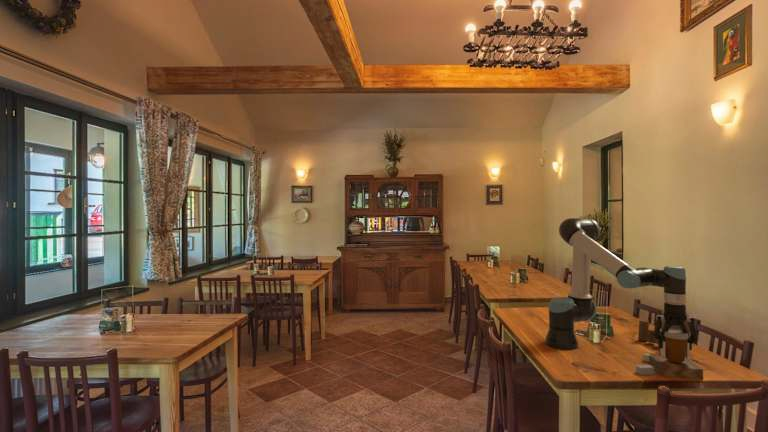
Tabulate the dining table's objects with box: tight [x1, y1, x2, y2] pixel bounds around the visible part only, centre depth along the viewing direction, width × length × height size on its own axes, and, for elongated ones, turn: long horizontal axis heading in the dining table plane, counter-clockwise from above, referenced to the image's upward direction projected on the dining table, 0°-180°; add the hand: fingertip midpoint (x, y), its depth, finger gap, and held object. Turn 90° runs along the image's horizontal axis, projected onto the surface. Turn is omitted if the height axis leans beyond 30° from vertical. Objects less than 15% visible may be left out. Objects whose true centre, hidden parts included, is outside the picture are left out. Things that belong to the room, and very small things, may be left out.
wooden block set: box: [637, 319, 661, 345], centre depth 207 cm, size 18×9×10 cm, turn 171°
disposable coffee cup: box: [664, 329, 689, 362], centre depth 168 cm, size 10×10×12 cm
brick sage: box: [642, 352, 652, 363], centre depth 179 cm, size 6×3×3 cm, turn 40°
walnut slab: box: [649, 354, 704, 380], centre depth 168 cm, size 14×14×4 cm
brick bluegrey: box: [635, 364, 655, 376], centre depth 166 cm, size 6×3×3 cm, turn 97°
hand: (674, 356), depth 168 cm, fingers closed on disposable coffee cup, 8 cm apart
